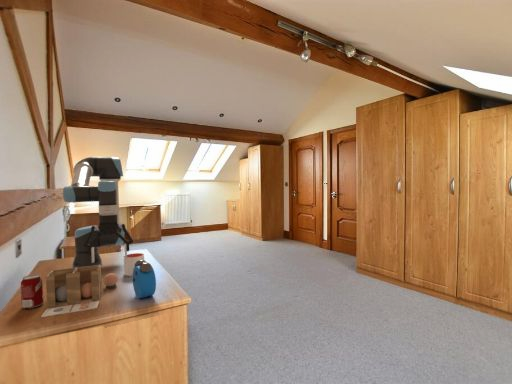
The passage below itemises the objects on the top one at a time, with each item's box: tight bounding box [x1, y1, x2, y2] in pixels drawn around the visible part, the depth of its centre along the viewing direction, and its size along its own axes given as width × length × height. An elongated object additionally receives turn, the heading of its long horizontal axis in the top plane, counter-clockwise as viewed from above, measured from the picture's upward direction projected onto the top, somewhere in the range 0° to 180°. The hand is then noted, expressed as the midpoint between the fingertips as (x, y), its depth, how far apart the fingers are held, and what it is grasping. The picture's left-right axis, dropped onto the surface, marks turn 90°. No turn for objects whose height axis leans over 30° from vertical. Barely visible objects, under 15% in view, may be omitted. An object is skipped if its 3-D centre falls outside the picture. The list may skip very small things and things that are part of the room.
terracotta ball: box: [80, 283, 92, 298], centre depth 120 cm, size 6×6×6 cm
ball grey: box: [55, 286, 67, 302], centre depth 117 cm, size 6×6×6 cm
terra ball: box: [102, 272, 119, 287], centre depth 133 cm, size 6×6×6 cm
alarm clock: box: [132, 259, 157, 299], centre depth 121 cm, size 13×6×15 cm, turn 38°
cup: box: [123, 252, 145, 277], centre depth 153 cm, size 10×10×10 cm
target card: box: [40, 301, 100, 318], centre depth 110 cm, size 7×18×1 cm, turn 113°
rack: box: [45, 264, 103, 309], centre depth 118 cm, size 9×18×13 cm, turn 113°
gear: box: [105, 283, 117, 290], centre depth 133 cm, size 4×4×1 cm
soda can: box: [20, 273, 44, 309], centre depth 114 cm, size 7×7×12 cm
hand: (109, 260), depth 133 cm, fingers open, 13 cm apart
